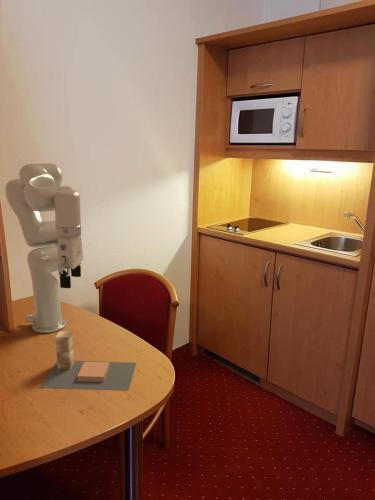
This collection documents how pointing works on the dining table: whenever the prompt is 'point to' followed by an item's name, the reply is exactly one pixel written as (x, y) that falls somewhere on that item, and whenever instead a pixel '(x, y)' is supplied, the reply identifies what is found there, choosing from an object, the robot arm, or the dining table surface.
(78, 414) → the dining table surface
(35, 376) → the dining table surface
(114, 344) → the dining table surface
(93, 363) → the tile
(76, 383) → the mat
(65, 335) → the light wood block
